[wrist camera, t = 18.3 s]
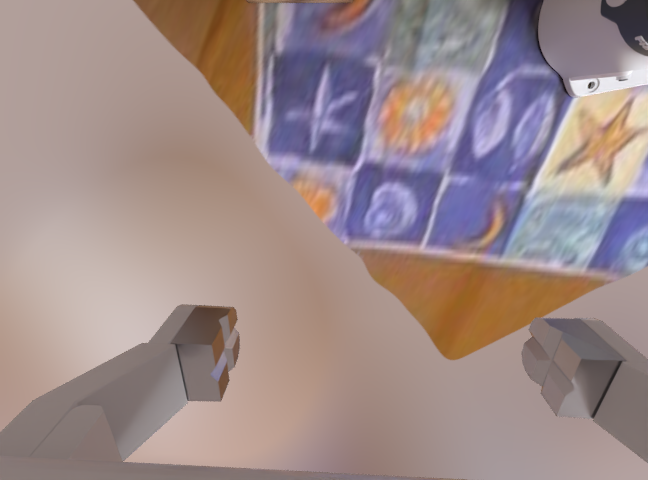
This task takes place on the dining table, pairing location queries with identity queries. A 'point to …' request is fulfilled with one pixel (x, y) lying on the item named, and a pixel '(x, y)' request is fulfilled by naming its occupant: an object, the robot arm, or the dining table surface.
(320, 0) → the wood grain block
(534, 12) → the dining table surface
